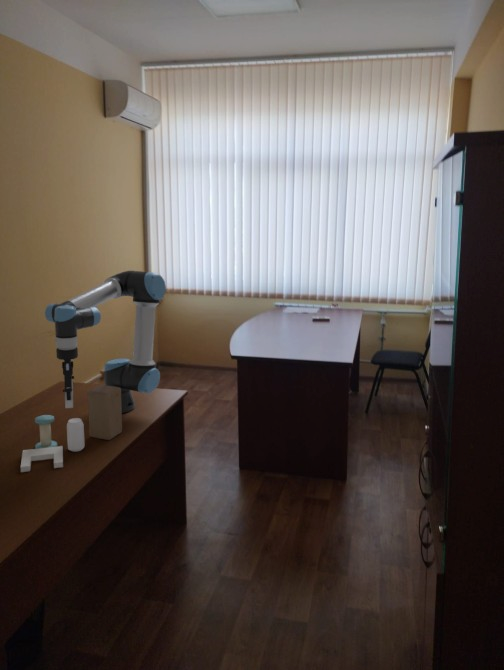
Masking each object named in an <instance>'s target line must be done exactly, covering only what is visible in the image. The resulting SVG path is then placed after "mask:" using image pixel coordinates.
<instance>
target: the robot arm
mask: <svg viewBox="0 0 504 670" xmlns="http://www.w3.org/2000/svg"><path fill="white" fill-rule="evenodd" d="M166 287H167V286H166V281H165V279H164V278H163V276H162V275H161V274H159V273H157V272H154V271H153V272H151V271H140V270H126V271H122V272H119V273H116V274H114V275H112V276H109V277H107V278H105V280H104V282H103V283H100V284H98V285H96V286H94V287H92V288H90V289H88V290H86V291H84V292H81V293H80V294H78V295H76V296H73V297H72V298H69V299H68V300H65V301H63V302H61V303H59V304H58V303H50V304H48V305H47V307H46V308H45V309H44V316H45V319H46V320H47V322H50V323H54V329H55V339H54V340H53V342H55V347H56V351H55V352H56V358H57V360H63V361H62V362H61V369H62V375H63V376H64V378H63V379H64V380H63V381H64V389H62V392H63V393H64V405H65V409H73V408H74V398H73V396H74V384H73V382H74V381H73V380H75V376H74V375H73V373H74V371H73V370H74V361H72V360H75V359H77V358H78V357H79V353H78V352H79V349H78V345H79V344H78V330H81V329H87V328H91V327H93V326H97V325H98V324H100V322H101V320H102V316H101V312H100V310H99V309H98V308H97V307H99V306H100V305H102V304H103V303H105V302H108V301H110V300H112V299H113V300H114V299H118V298H121V297H132V302H133V303H134V305H135V317H134V318H135V319H134V334H133V335H134V337H133V349H132V351H133V354H132V355H133V356H132V359H131V360H130V359H129V358H116V359H112V360H108V361H107V362H105V364H104V370H103V377H104V385H107V386H113V387H120V388H121V408H122V414H124V413H128V412H131V411H133V410H134V409H135V408H136V402H135V400H134V397H133V394H132V391H134V392H138V393H140V394H141V393H142V394H143V393H144V394H150V393H152V392H153V391H156V388H157V387H158V386H159V384H160V381H161V380H160V379H161V372H160V370H159V369H158V368H156V362H155V360H154V359H153V355H154V340H155V339H154V338H155V326H156V325H155V324H156V323H155V322H156V308H157V306H158V305H159V304H160V300H162V299H163V298H164V296H165V294H166V289H167V288H166Z"/></svg>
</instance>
